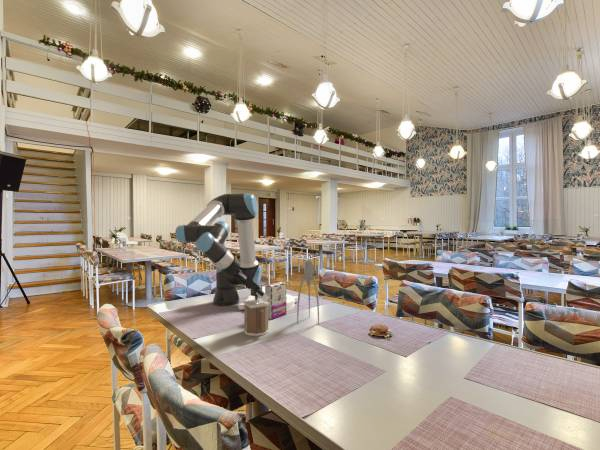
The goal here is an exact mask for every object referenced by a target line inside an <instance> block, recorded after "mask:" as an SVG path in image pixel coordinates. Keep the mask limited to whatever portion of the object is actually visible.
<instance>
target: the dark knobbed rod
mask: <svg viewBox="0 0 600 450" xmlns="http://www.w3.org/2000/svg"><path fill="white" fill-rule="evenodd" d="M258 286H259V287H260V289H261V290H262V291H263V286H262V285H261V284H260V285H259V284H258ZM250 295H251V296H255V303H258V295H257V294H256V293H255V294H254V291H253V290H252V289H251V291H250Z"/></svg>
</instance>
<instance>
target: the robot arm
mask: <svg viewBox="0 0 600 450" xmlns="http://www.w3.org/2000/svg"><path fill="white" fill-rule="evenodd" d="M258 213H259V204H258V200H257V198H256V196H255V195H254V194H252V193H224V194H221V195H218V196H216V197H214V198H213V199H211V200H210V201H209V202H208V203H207V204H206V207H205V208H204V209H203V210H202V211H201V212H200V213H198V214H197V215H196V216H195V217H194V218H193V219H192V220H191V221H189V222H188V224H181V225H178V226H176V229H175V232H174V234H175V235H174V236H175V240H177V242H179V243H191V244H192V243H194V245H195V247H196V248H197V249H198V250H199V251H200V253H201V254H203V255H204V256H205V257H206V258H207V259H209V260H210V261H211V262H212V263H213V264H214V267H215V268H216V272H215V274H216V275H215V280H216V286H215V287H216V288H215V289H216V290H215V292H214V293H215V294H214V296H213V299H212V300H213V301H212V304H214V305H215V304H217V305H216V306H233V305H237V304H239V303H240V302H239V301H240V300H241V299H240V296H239V293H238V289H237V286H245V288H247V289H248V290H249V291H250V292H251V289H252V290H253V291H254V294H255V293H256V294H257V295H258V298H259V299H262V300H263V301H264V302H266V301H267V300H268V298H269V297H268V296H267V295H266V294H265V291H263V289H262V290H261V289H260V287H259V286H258V285H259V284H260V282H261V280H262V279H261V278H262V275H263V267H262V265H260V264H259V260H257V258H256V245H255V235H254V234H255V231H254V219H256V216H257V215H258ZM222 216H233V220H234V221H236V224H237V234H238V235H237V237H238V244H239V245H238V247H239V258H240V260H238V259H237V258H236V257H234V255H233V254H232V253H231V252H230V251H229V250H228V249H227V248H226V247H225V246H224V244H225V242H226V239H227V238H228V237H229V234H230V231H231V230H230V229H231V228H230V225H229V224H228V223H227V222H225V221H222V220H218V221H216V220H217V219H218V218H221V217H222ZM215 221H216V222H215ZM212 224H213V225H212ZM236 303H237V304H236ZM232 304H233V305H232Z"/></svg>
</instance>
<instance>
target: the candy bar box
mask: <svg viewBox="0 0 600 450" xmlns="http://www.w3.org/2000/svg"><path fill="white" fill-rule="evenodd" d="M264 293H265V294H266V295H267V296H268V297H269V298H268V300H267V302H269V303H270V305H269V306H268V320H274V319H277V318H280V317H282V316H286V315H287V311H286V294H287V282H282V281H279V282H275V283H270V284H266V285H264Z"/></svg>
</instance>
